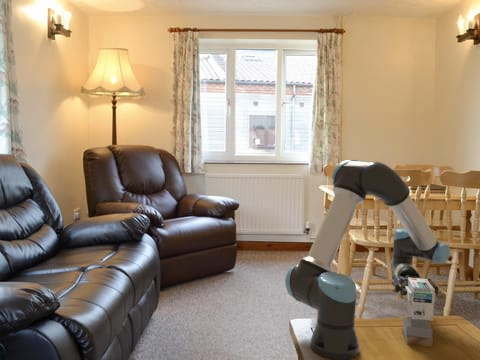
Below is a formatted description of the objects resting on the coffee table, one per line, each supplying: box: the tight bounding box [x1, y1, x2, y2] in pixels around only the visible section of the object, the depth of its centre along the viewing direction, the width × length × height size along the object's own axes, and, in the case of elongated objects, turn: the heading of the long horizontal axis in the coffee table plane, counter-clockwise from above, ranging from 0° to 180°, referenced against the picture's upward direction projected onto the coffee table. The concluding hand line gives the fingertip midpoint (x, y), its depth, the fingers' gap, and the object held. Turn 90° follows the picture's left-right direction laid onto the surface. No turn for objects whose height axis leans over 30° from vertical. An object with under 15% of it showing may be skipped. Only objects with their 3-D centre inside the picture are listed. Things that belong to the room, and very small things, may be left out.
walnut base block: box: [401, 325, 434, 347], centre depth 152 cm, size 8×8×3 cm
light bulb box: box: [406, 277, 435, 321], centre depth 151 cm, size 11×7×11 cm, turn 170°
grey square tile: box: [402, 317, 434, 338], centre depth 152 cm, size 8×8×3 cm
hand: (422, 297), depth 148 cm, fingers closed on light bulb box, 7 cm apart
